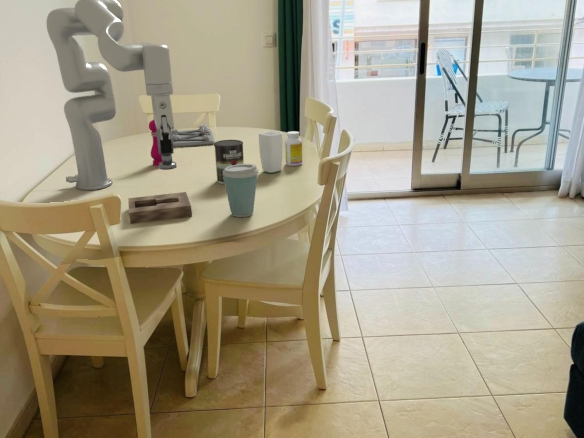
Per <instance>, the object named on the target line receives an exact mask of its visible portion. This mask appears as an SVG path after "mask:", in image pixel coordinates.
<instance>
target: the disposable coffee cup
mask: <svg viewBox="0 0 584 438" xmlns="http://www.w3.org/2000/svg"><path fill="white" fill-rule="evenodd" d="M259 173H260V172H259V169H258V168H257V165H256V164H253V163H244V164H239V165H233V166H229V167H226V168H225V169H224V171H223V174H222V175H223V177H224V182H225V184H224V186H225V190H226V195H227V200H228V204H229V210H230V214H231V215H232V216H233V217H236V218H246V217H250V216H252V215H253V212H254V209H255V201H256V199H255V198H256V190H257V182H258V181H257V180H258V174H259Z"/></svg>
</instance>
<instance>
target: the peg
mask: <svg viewBox="0 0 584 438" xmlns="http://www.w3.org/2000/svg"><path fill="white" fill-rule="evenodd" d="M167 128H168V127H167ZM161 129H163V127H161ZM156 131H157V140H158V149H159V154H160V155H162V162H161V163H159V166H158V168H159V169H160V170H162V171H163V170H164V171H169V170H175V169H176V168H177V162H176V161H174V160H173V155H172V154H174V153H175V152H174V149H175V148H173V139H172V128H170V126H169V131H170V139H171V144H172V153H161V146H160V140H161V137H160V130H158V129H157V127H156ZM162 132H163V131H162Z"/></svg>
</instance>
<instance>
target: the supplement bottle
mask: <svg viewBox="0 0 584 438" xmlns="http://www.w3.org/2000/svg"><path fill="white" fill-rule="evenodd" d="M286 135H287V138H286V139H285V142H284V145H285V149H284V150H285V164H286V165H287V166H290V167H297V166H301V165H302V164H303V141H302V139H301V138H300V131H295V130H293V131H292V130H291V131H287V133H286Z"/></svg>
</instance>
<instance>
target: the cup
mask: <svg viewBox="0 0 584 438" xmlns="http://www.w3.org/2000/svg"><path fill="white" fill-rule="evenodd" d="M258 145H259V147H258V149H259V155H260V156H259V157H260V162H261V163H260V164H261V168H262V171H263V172H264V173H268V174H274V173H278V172H281V171H282V165H283V152H284V151H283V148H284V147H283V132H281V131H275V130H268V131H263V132H259V133H258Z"/></svg>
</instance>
